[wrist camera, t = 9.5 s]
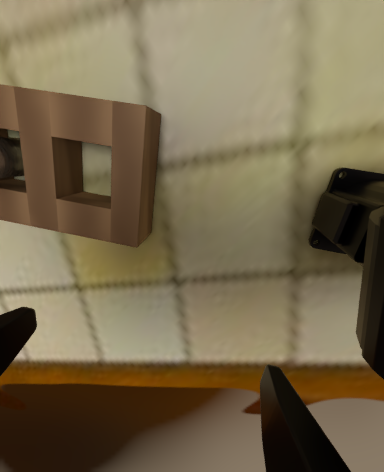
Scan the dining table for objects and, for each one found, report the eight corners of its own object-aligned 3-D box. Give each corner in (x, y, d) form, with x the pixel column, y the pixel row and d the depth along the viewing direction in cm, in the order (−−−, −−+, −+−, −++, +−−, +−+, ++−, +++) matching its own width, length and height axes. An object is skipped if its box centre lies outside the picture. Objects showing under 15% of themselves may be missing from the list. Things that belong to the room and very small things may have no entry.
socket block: (161, 114, 18) (146, 105, 14) (150, 232, 21) (136, 247, 18) (-23, 86, 19) (-75, 73, 16) (-3, 202, 23) (-42, 211, 19)
